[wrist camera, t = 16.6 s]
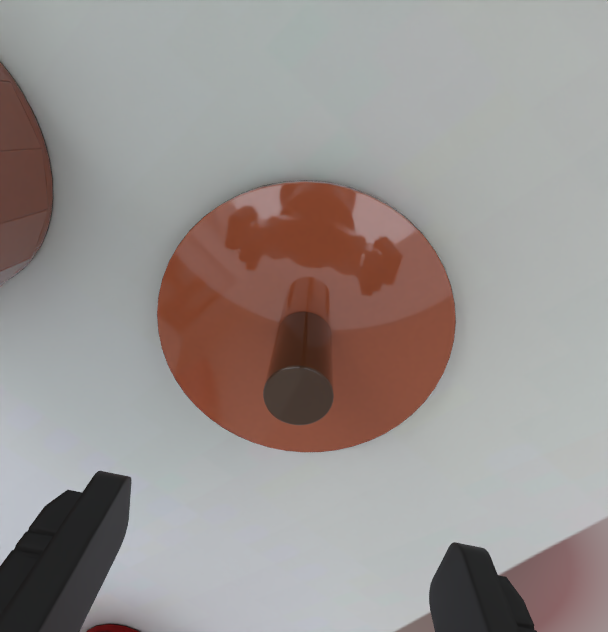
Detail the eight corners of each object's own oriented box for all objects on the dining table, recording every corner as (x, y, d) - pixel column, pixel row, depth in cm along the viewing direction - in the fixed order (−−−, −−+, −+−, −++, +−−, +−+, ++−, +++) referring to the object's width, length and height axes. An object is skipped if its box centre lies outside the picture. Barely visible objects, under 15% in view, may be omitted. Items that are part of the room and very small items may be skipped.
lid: (119, 222, 20) (36, 261, 14) (426, 140, 18) (475, 146, 12) (219, 456, 25) (188, 553, 19) (463, 412, 23) (509, 506, 17)
